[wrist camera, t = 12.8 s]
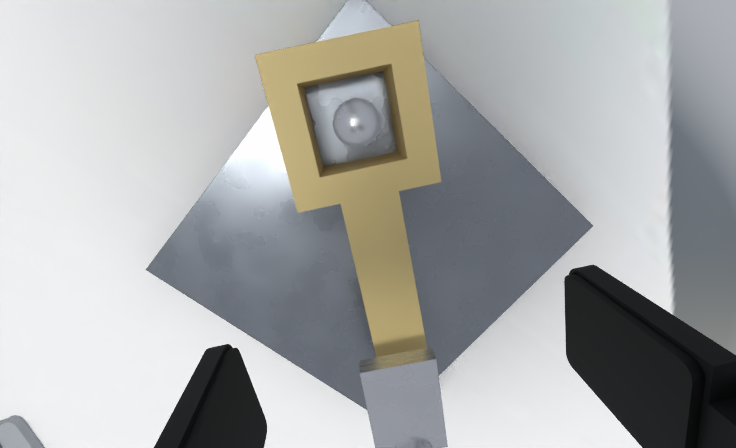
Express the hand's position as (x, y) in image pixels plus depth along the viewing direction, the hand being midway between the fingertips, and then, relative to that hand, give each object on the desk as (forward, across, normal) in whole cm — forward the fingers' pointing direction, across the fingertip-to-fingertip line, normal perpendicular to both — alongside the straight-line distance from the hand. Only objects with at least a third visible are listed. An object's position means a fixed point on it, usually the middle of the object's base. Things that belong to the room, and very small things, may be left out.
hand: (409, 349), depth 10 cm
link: (+13, 0, 0) cm, 13 cm away
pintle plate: (+14, 0, +2) cm, 14 cm away
